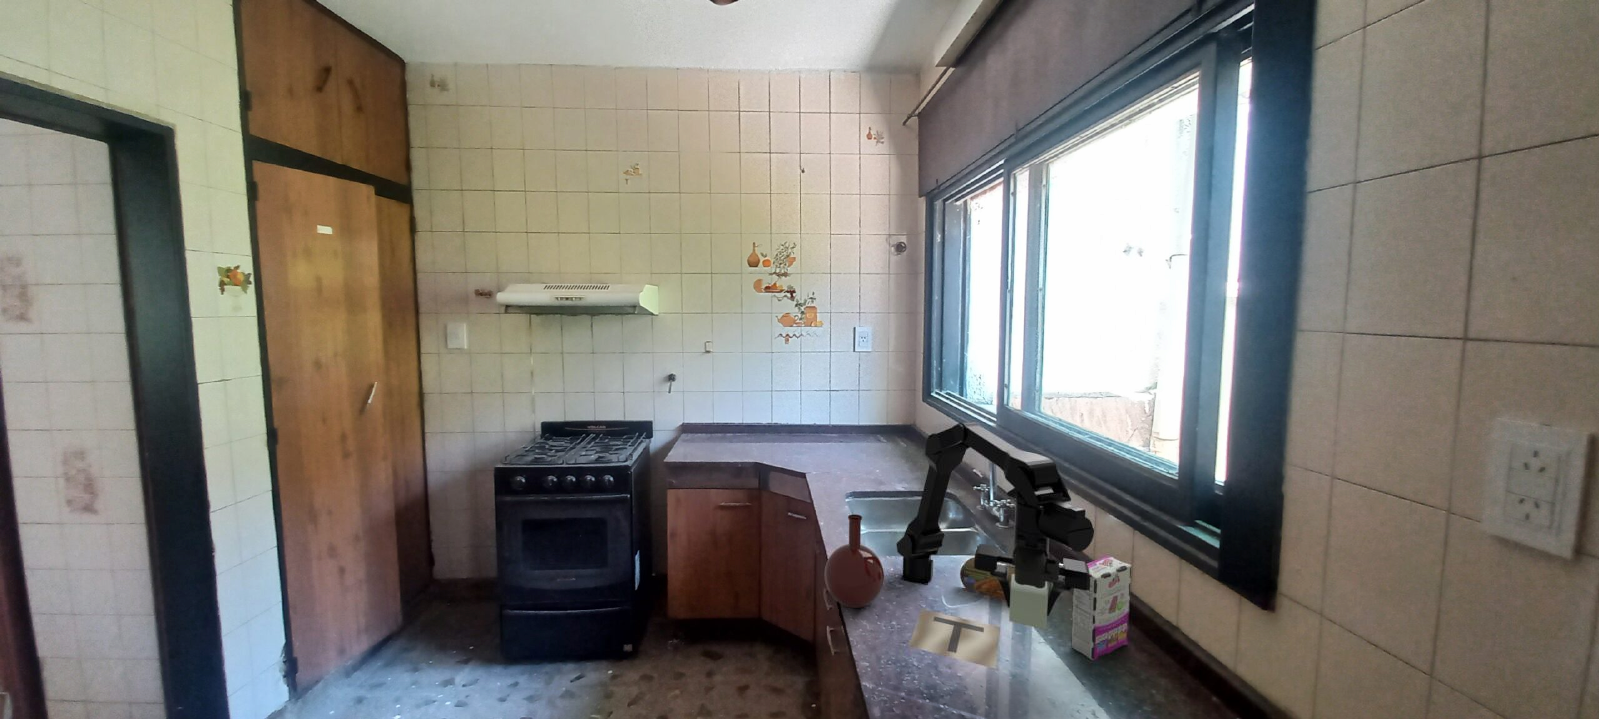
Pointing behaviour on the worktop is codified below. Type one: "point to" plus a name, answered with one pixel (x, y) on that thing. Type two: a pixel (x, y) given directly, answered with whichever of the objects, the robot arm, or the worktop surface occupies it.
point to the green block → (1028, 604)
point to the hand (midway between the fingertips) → (1027, 610)
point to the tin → (982, 580)
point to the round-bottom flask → (854, 570)
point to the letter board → (956, 638)
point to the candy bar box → (1102, 609)
